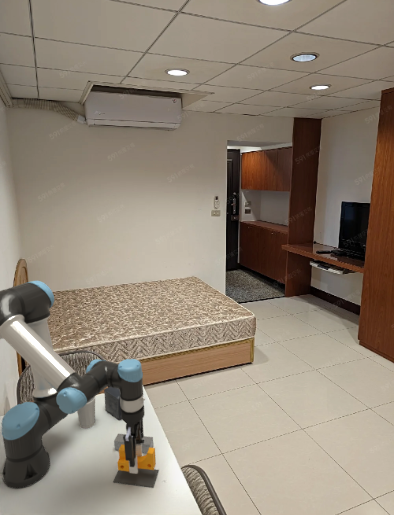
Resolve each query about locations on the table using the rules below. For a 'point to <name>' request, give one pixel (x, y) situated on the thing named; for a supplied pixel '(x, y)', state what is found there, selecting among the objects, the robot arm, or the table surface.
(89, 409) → the cup
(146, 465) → the pipe clamp
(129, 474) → the pad
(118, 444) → the grey rectangular bar
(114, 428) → the table surface
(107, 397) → the small box
